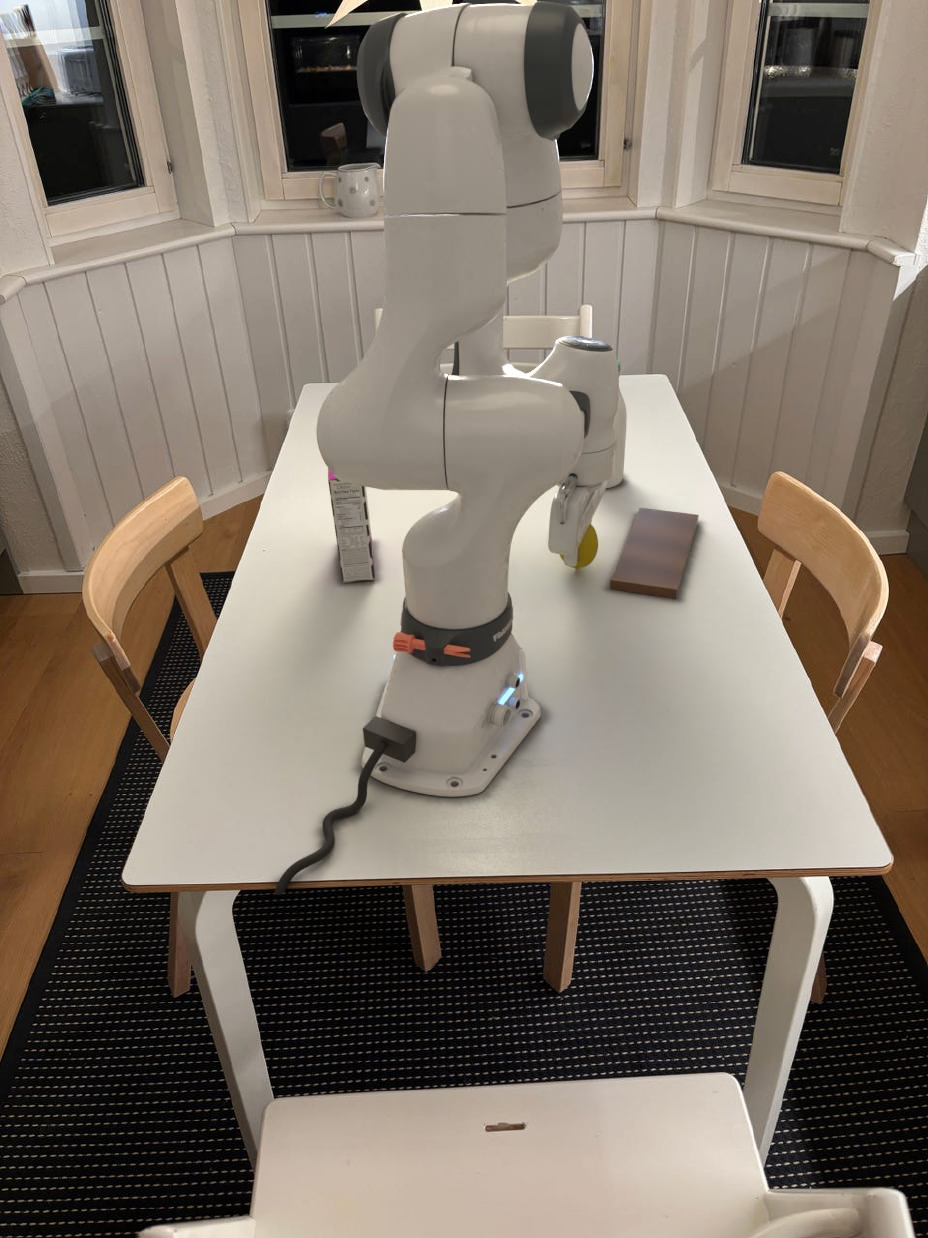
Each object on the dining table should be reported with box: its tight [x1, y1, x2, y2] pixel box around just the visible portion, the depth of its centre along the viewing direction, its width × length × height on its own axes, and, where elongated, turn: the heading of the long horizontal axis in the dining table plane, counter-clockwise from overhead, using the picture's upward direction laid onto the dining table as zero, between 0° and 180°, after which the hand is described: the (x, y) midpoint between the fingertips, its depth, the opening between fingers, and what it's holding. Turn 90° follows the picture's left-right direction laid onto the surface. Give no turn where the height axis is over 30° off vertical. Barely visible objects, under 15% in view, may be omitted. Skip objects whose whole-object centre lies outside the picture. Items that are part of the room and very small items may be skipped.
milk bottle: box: [606, 359, 628, 489], centre depth 153 cm, size 8×8×20 cm
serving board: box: [609, 507, 699, 600], centre depth 137 cm, size 22×9×2 cm, turn 161°
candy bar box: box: [327, 468, 376, 584], centre depth 134 cm, size 11×5×16 cm, turn 7°
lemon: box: [559, 523, 599, 570], centre depth 133 cm, size 6×6×8 cm
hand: (577, 550), depth 133 cm, fingers closed on lemon, 5 cm apart
